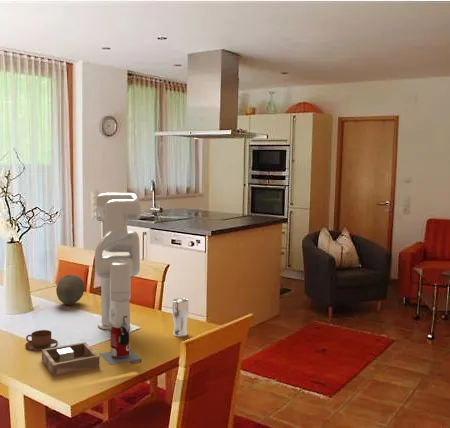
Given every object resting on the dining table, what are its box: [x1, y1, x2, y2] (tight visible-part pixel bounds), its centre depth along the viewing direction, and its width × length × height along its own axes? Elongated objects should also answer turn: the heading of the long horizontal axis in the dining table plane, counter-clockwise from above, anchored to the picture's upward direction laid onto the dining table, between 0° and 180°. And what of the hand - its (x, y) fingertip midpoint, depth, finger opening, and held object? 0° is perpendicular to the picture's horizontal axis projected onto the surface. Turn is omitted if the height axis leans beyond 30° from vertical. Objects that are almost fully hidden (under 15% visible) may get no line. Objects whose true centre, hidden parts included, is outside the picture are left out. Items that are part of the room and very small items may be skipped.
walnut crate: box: [41, 342, 100, 377], centre depth 185 cm, size 16×16×5 cm
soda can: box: [110, 325, 130, 358], centre depth 193 cm, size 7×7×12 cm
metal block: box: [56, 347, 74, 363], centre depth 187 cm, size 5×5×4 cm
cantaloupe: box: [55, 274, 85, 306], centre depth 261 cm, size 14×14×15 cm
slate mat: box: [99, 347, 142, 366], centre depth 193 cm, size 12×12×1 cm
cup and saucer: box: [25, 329, 59, 352], centre depth 202 cm, size 12×12×6 cm
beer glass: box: [171, 297, 190, 338], centre depth 220 cm, size 7×7×15 cm
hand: (120, 340), depth 192 cm, fingers open, 8 cm apart
